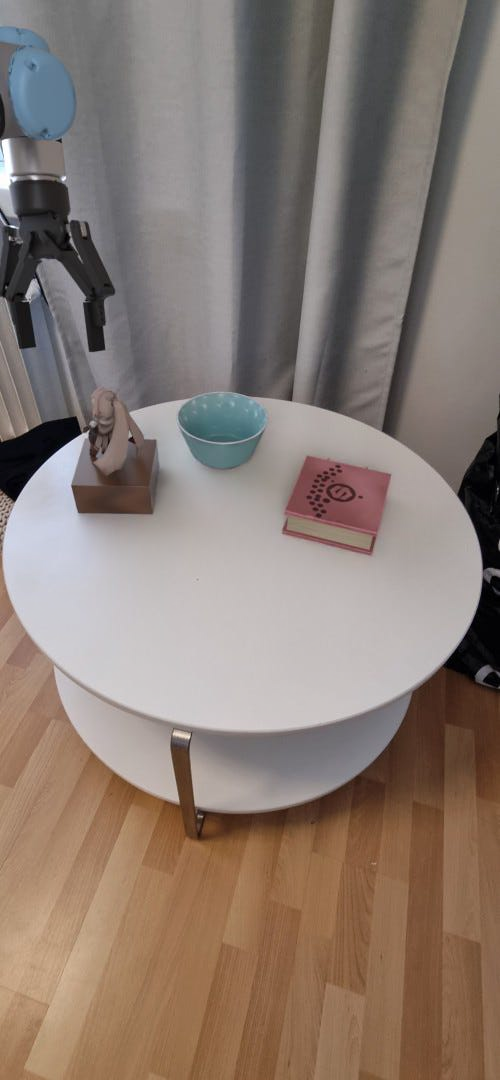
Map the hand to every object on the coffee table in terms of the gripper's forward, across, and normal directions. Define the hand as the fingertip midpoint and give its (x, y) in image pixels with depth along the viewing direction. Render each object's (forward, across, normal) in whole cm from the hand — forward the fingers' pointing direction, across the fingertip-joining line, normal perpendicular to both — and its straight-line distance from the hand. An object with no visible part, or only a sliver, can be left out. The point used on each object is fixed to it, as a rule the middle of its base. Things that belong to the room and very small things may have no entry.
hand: (61, 349), depth 86 cm
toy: (+18, -5, -4) cm, 19 cm away
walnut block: (+23, -3, -6) cm, 24 cm away
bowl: (+20, -14, -22) cm, 33 cm away
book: (+26, -37, -19) cm, 49 cm away
